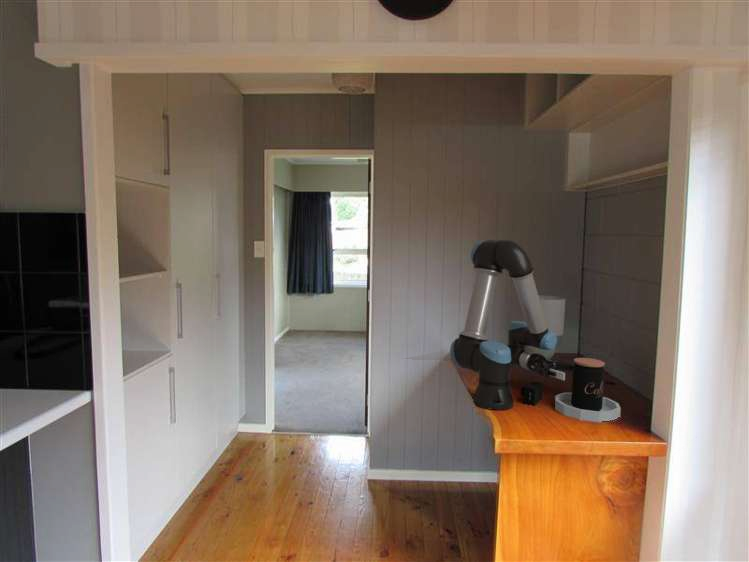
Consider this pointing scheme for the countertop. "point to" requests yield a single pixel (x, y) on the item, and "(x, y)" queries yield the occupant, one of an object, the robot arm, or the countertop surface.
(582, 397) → the coffee jar
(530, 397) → the digital camera
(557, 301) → the lamp
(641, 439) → the countertop surface
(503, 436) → the countertop surface
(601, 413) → the bowl
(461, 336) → the robot arm
